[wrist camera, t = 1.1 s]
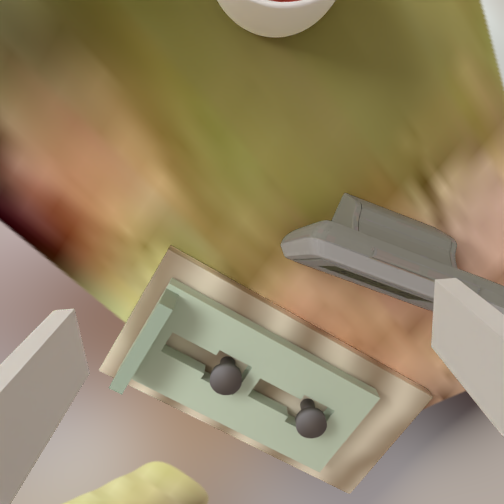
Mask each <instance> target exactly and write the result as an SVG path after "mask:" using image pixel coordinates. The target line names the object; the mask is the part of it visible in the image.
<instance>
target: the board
mask: <svg viewBox="0 0 504 504" xmlns="http://www.w3.org/2000/svg"><path fill="white" fill-rule="evenodd" d="M171 278H174V279H176V280H178V281H179V282H181V283H183V284H185V285H187V286H189V287H190V288H192V289H194V290H196V291H198V292H199V293H201V294H203V295H205V296H207V297H209V298H210V299H212V300H214V301H216V302H218V303H220V304H221V305H223V306H225V307H227V308H229V309H231V310H232V311H234V312H236V313H238V314H240V315H241V316H243V317H245V318H247V319H249V320H251V321H252V322H254V323H256V324H258V325H260V326H262V327H263V328H265V329H267V330H269V331H271V332H273V333H274V334H276V335H278V336H280V337H282V338H283V339H285V340H287V341H289V342H291V343H293V344H294V345H296V346H298V347H300V348H302V349H304V350H305V351H307V352H309V353H311V354H313V355H314V356H316V357H318V358H320V359H322V360H324V361H325V362H327V363H329V364H331V365H333V366H335V367H336V368H338V369H340V370H342V371H344V372H346V373H347V374H349V375H351V376H353V377H355V378H356V379H358V380H360V381H362V382H364V383H366V384H367V385H369V386H371V387H373V388H375V389H376V390H377V393H378V395H379V397H380V399H379V400H378V402H377V403H376V404H375V405H374V407H373V408H372V409H371V410H370V411H369V413H368V414H367V415H366V416H365V418H364V419H363V420H362V421H361V422H360V424H359V425H358V426H357V427H356V429H355V430H354V431H353V432H352V433H351V435H350V436H349V437H348V438H347V440H346V441H345V442H344V443H343V444H342V446H341V447H340V448H339V449H338V451H337V452H336V453H335V454H334V455H333V457H332V458H331V459H330V460H329V462H328V463H327V464H326V465H325V466H324V468H323V469H322V470H321V471H320V472H318V471H316V470H314V469H312V468H310V467H308V466H305V465H303V464H301V463H299V462H297V461H295V460H293V459H291V458H289V457H287V456H285V455H283V454H281V453H279V452H277V451H275V450H273V449H271V448H269V447H267V446H265V445H263V444H261V443H259V442H257V441H255V440H253V439H251V438H249V437H247V436H245V435H243V434H241V433H239V432H237V431H235V430H233V429H231V428H229V427H227V426H225V425H223V424H221V423H219V422H217V421H215V420H213V419H211V418H209V417H207V416H205V415H203V414H201V413H199V412H197V411H195V410H193V409H191V408H189V407H187V406H184V405H182V404H180V403H178V402H176V401H174V400H172V399H170V398H168V397H166V396H164V395H162V394H160V393H158V392H156V391H154V390H152V389H150V388H148V387H146V386H144V385H142V384H140V383H138V382H136V381H134V380H132V379H131V380H130V382H129V384H128V385H129V386H131V387H134V388H136V389H137V390H139V391H141V392H144V393H146V394H148V395H150V396H152V397H154V398H156V399H158V400H160V401H162V402H164V403H166V404H168V405H170V406H172V407H174V408H176V409H178V410H180V411H182V412H184V413H186V414H188V415H190V416H192V417H195V418H196V419H198V420H200V421H202V422H205V423H206V424H208V425H210V426H213V427H215V428H217V429H219V430H221V431H223V432H225V433H227V434H229V435H231V436H233V437H235V438H237V439H239V440H241V441H243V442H245V443H247V444H249V445H251V446H253V447H255V448H257V449H260V450H261V451H264V452H265V453H268V454H269V455H272V456H273V457H276V458H277V459H280V460H282V461H284V462H286V463H288V464H290V465H292V466H294V467H296V468H298V469H300V470H302V471H304V472H306V473H308V474H310V475H312V476H314V477H316V478H318V479H321V480H322V481H324V482H326V483H328V484H330V485H332V486H334V487H337V488H338V489H340V490H342V491H344V492H346V493H349V494H350V493H351V492H352V490H354V488H355V487H356V486H357V485H358V484H359V483H360V481H361V480H362V479H363V478H364V477H365V475H366V474H367V473H368V472H369V471H370V470H371V469H372V468H373V466H374V465H375V464H376V463H377V462H378V460H379V459H380V458H381V457H382V456H383V455H384V453H385V452H386V451H387V450H388V449H389V448H390V447H391V445H392V444H393V443H394V442H395V441H396V440H397V438H398V437H399V436H400V435H401V434H402V432H403V431H404V430H405V429H406V428H407V427H408V426H409V425H410V423H411V422H412V421H413V420H414V419H415V417H416V416H417V415H418V414H419V413H420V412H421V411H422V409H423V408H424V407H425V406H426V405H427V404H428V402H429V401H430V400H431V399H432V398H433V396H432V395H431V393H430V392H429V390H428V389H426V388H424V387H422V386H421V385H419V384H417V383H415V382H413V381H412V380H410V379H408V378H406V377H405V376H403V375H401V374H399V373H397V372H396V371H394V370H392V369H390V368H389V367H387V366H385V365H383V364H381V363H380V362H378V361H376V360H374V359H373V358H371V357H369V356H367V355H365V354H364V353H362V352H360V351H358V350H356V349H355V348H353V347H351V346H349V345H348V344H346V343H344V342H342V341H340V340H339V339H337V338H335V337H333V336H332V335H330V334H328V333H326V332H324V331H323V330H321V329H319V328H317V327H315V326H314V325H312V324H310V323H308V322H307V321H305V320H303V319H301V318H299V317H298V316H296V315H294V314H292V313H291V312H289V311H287V310H285V309H283V308H282V307H280V306H278V305H276V304H275V303H273V302H271V301H269V300H267V299H266V298H264V297H262V296H260V295H258V294H257V293H255V292H253V291H251V290H250V289H248V288H246V287H244V286H242V285H241V284H239V283H237V282H235V281H234V280H232V279H230V278H228V277H226V276H225V275H223V274H221V273H219V272H218V271H216V270H214V269H212V268H210V267H209V266H207V265H205V264H203V263H201V262H200V261H198V260H196V259H194V258H193V257H191V256H189V255H187V254H185V253H184V252H182V251H180V250H178V249H177V248H175V247H173V246H170V247H169V249H168V250H167V252H166V254H165V256H164V257H163V259H162V261H161V263H160V264H159V266H158V268H157V270H156V271H155V273H154V275H153V277H152V278H151V280H150V282H149V284H148V285H147V287H146V289H145V291H144V292H143V294H142V296H141V298H140V299H139V301H138V303H137V305H136V306H135V308H134V310H133V311H132V313H131V315H130V317H129V318H128V320H127V322H126V324H125V325H124V327H123V329H122V331H121V332H120V334H119V336H118V338H117V339H116V341H115V343H114V345H113V346H112V348H111V350H110V352H109V353H108V355H107V357H106V359H105V360H104V362H103V364H102V366H101V367H100V369H99V371H101V372H103V373H105V374H107V375H109V376H111V377H113V378H114V377H115V375H116V373H117V371H118V369H119V367H120V365H121V363H122V362H123V360H124V358H125V357H126V355H127V353H128V352H129V350H130V348H131V346H132V345H133V343H134V341H135V340H136V338H137V336H138V335H139V333H140V331H141V329H142V328H143V326H144V324H145V323H146V321H147V319H148V318H149V316H150V314H151V312H152V311H153V309H154V307H155V306H156V304H157V302H158V301H159V299H160V297H161V295H162V294H163V292H164V290H165V289H166V287H167V285H168V284H169V282H170V280H171ZM166 345H168V346H170V347H172V348H174V349H176V350H178V351H179V352H181V353H183V354H185V355H187V356H189V357H191V358H193V359H195V360H197V361H199V362H201V363H203V364H205V365H206V366H205V371H206V372H208V373H210V374H211V375H210V385H211V387H212V389H213V390H214V391H215V392H216V393H218V394H221V395H231V394H234V393H236V392H237V391H238V390H239V389H240V387H241V384H242V373H243V372H244V370H245V369H246V368H247V366H248V365H247V364H245V363H243V362H241V361H239V360H237V359H235V358H234V357H232V356H230V355H228V354H226V353H224V352H222V351H220V350H219V352H218V353H217V355H215V354H213V353H211V352H209V351H207V350H205V349H203V348H201V347H200V346H198V345H196V344H194V343H192V342H190V341H188V340H186V339H184V338H182V337H180V336H179V335H177V334H175V333H173V332H172V334H171V336H170V337H169V339H168V341H167V342H166ZM253 390H255V391H257V392H259V393H261V394H262V395H264V396H266V397H268V398H270V399H272V400H274V401H276V402H278V403H280V404H282V405H284V406H286V407H287V413H288V414H289V415H291V416H293V417H295V423H296V429H297V431H298V433H299V434H300V435H301V436H303V437H305V438H317V437H319V436H321V435H322V434H323V433H324V432H325V431H326V428H327V422H326V418H325V415H324V413H323V412H324V411H325V410H326V409H327V407H326V406H325V405H323V404H321V403H319V402H317V401H315V400H313V399H311V398H309V397H307V396H306V395H304V396H303V398H302V399H299V398H297V397H295V396H293V395H291V394H289V393H287V392H285V391H283V390H282V389H280V388H278V387H276V386H274V385H272V384H270V383H268V382H266V381H264V380H262V379H261V378H260V380H259V381H258V382H257V384H256V385H255V387H254V388H253Z"/></svg>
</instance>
